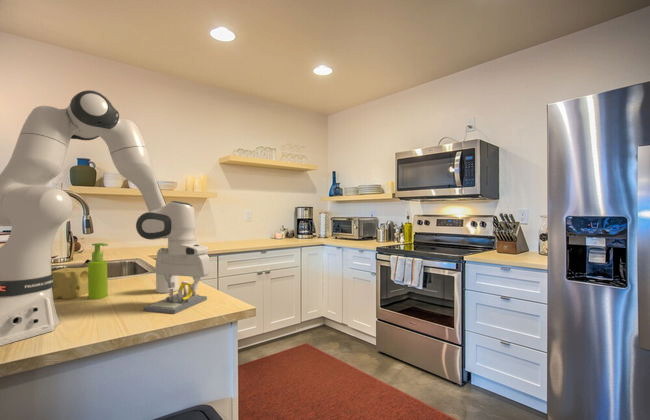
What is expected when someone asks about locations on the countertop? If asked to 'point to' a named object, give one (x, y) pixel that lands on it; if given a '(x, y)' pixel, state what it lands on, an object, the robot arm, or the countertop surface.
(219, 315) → the countertop surface
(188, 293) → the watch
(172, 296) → the gray pegged board
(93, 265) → the soap dispenser
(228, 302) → the countertop surface
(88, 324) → the countertop surface
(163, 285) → the pill bottle
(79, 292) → the cheese
